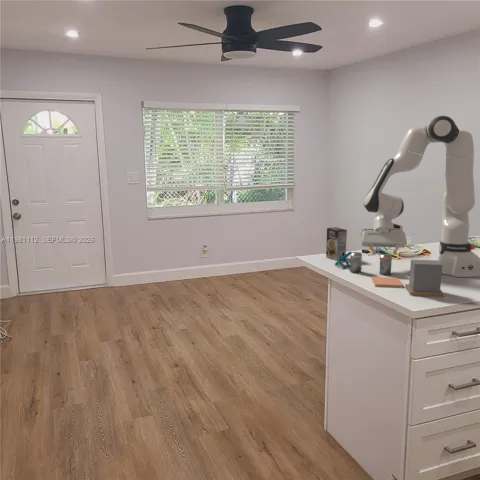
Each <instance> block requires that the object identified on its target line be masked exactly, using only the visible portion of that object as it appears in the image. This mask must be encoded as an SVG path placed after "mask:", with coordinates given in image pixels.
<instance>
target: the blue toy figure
mask: <svg viewBox="0 0 480 480" xmlns="http://www.w3.org/2000/svg"><path fill="white" fill-rule="evenodd" d="M351 253H352V251H348V252H346V255H344V256H342V257H341V259H340V260H338V261H336V262H335V264H334V266H337V265H339V266H341V268H343V269H346V268H345V266H344V263H345V264H346V265H347V266H348V267H350V263H349V261H348V260H347V258H348V257H350V254H351Z"/></svg>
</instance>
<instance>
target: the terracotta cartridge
mask: <svg viewBox="0 0 480 480" xmlns="http://www.w3.org/2000/svg"><path fill="white" fill-rule="evenodd" d="M392 263H393V254H390V253H389V254H388V253H381V254H380V255H379V276H380V275H381V276H383V277H385V276H387V277H389V276H392V275H391V274H392Z"/></svg>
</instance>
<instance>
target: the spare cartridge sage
mask: <svg viewBox="0 0 480 480" xmlns="http://www.w3.org/2000/svg"><path fill="white" fill-rule="evenodd" d="M351 252H352V251H351ZM349 257H350V263H349V264H350V266H349V268H350V270H349V272H350V274H351V273H352V274H361V273H362V261H363V260H362V259H363V253H362V252H358V251H353V252H352V253H351V254H350V255H349Z"/></svg>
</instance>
